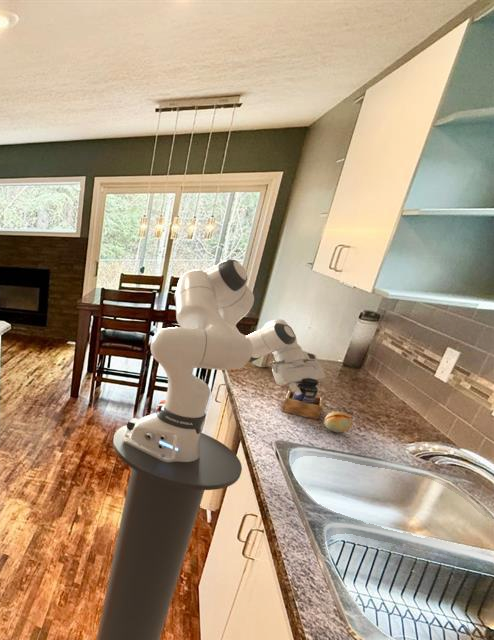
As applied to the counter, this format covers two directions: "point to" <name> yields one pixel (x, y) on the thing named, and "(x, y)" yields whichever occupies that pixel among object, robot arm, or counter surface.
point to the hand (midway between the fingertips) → (308, 393)
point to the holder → (303, 406)
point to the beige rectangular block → (263, 361)
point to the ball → (338, 422)
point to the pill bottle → (307, 390)
